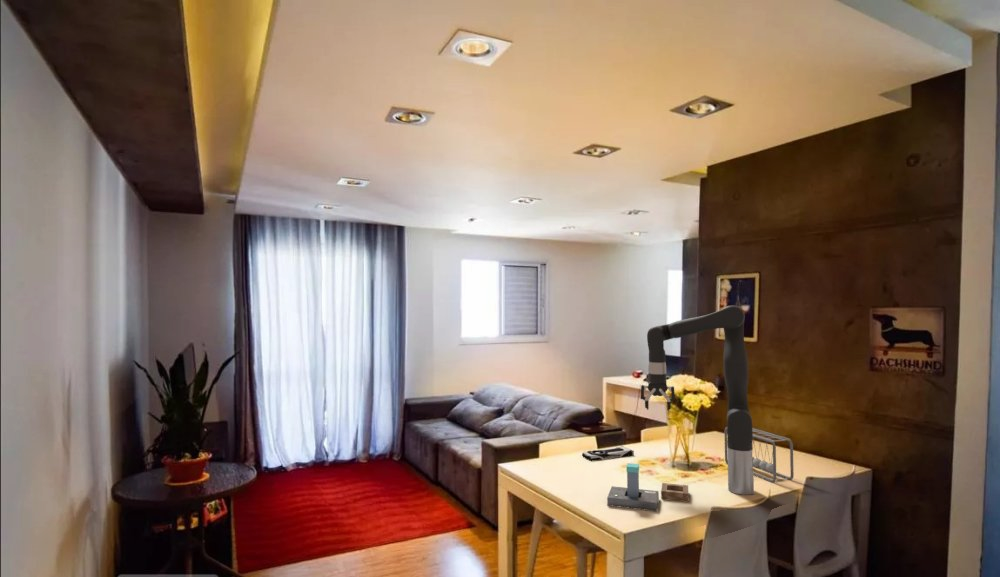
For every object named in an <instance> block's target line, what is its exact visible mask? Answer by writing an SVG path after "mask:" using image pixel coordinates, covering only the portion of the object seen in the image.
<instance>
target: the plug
mask: <svg viewBox="0 0 1000 577" xmlns="http://www.w3.org/2000/svg"><path fill="white" fill-rule="evenodd" d="M639 472H640V464H639V463H631V462H630V463H629V462H628V463H627V464H626V475H627V476H626V478H627V479H626V480H627V481H626V483H627V487H626V488H627V496H629V497H638V498H639V489H640V480H639V479H640V478H639V476H640V474H639Z"/></svg>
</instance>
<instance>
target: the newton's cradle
mask: <svg viewBox="0 0 1000 577" xmlns="http://www.w3.org/2000/svg"><path fill="white" fill-rule="evenodd" d="M752 432H754V433H753V443H752V444H753V446H752V451H753V448H756V445H755V439H756V440H759V441H764V442H766V445H765V446H766V447H765V448H766V450H769V448H768V443H770V444H771V445H772V453H771V454H772V455H771V457H772V460H771V459H770V458H768V459H769V462H768V461H766V459H762V460H761V459H760V458H759V456H760V455H759V454H760V452H761V453H763V450H762V448H761V447H762V445H761V443H759V446H758V447H759V448H758V449H760V452H758V453H757V451H756V449H754V450H755V454H757V455H755V456H756V458H755V457H754V456H752V461H753V466H754V467H753V468H756V467H757V468H756V469H759V470H761V469H762V471H765V472H767V473H769V472H770V473H769V474H771V475H772V476H773V477H772V478H773V479H772V478H769V477H767V476H764V475H762V474H759V473H756V472H754V471H753V475H754V477H757V476H758V478H761V479H762V478H763V479H762V480H765V481H767V482H770V483H775V482H777V481H783V480H788V481H791V480H793V479H794V443H793V441H792V440H791V438H789V437H785V436H781V435H778V434H774V433H771V432H767V431H764V430H761V429H757V428H755V427H752ZM756 433H757V434H756ZM759 434H760V435H759ZM762 435H764V436H762ZM766 436H767V437H766ZM769 437H770V438H769ZM775 438H776V439H777V440H776V439H775ZM782 441H783V442H784V441H787V442H788V443H789V457H790V458H789V461H790V463H789V464H790V476H787V475H784V474H781V473H779V472H777V450H776V448H777V446H776V443H775V442H782ZM766 452H767V451H765V455H763V454H761V456H762V458H764V457H763V456H766V454H767V456H770V454H769V452H767V453H766ZM724 461H725V463H726V465H728V447H727V426H726V427H725V428H724ZM777 475H778V477H779V479H777Z"/></svg>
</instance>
